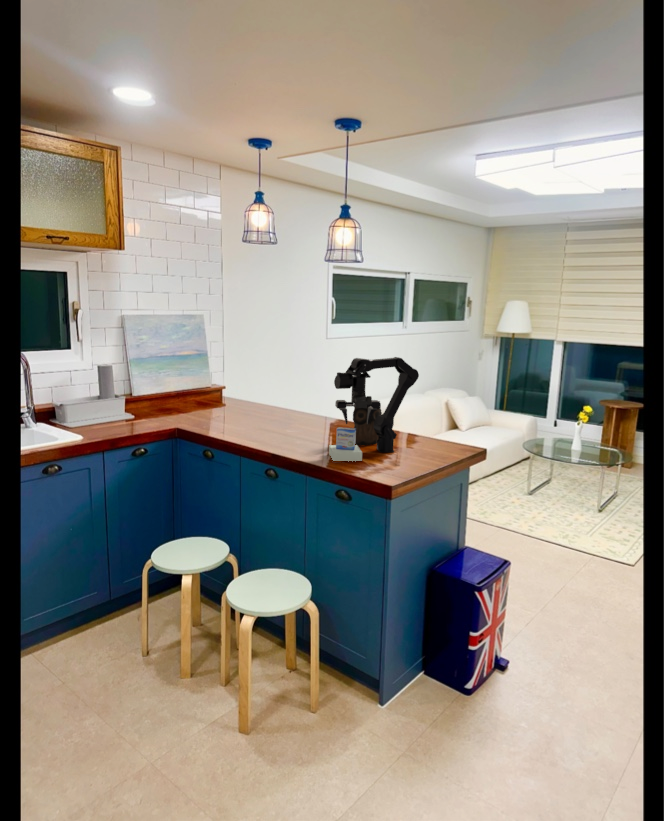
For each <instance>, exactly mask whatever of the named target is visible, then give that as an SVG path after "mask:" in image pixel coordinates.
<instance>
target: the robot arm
mask: <svg viewBox="0 0 664 821" xmlns="http://www.w3.org/2000/svg"><path fill="white" fill-rule="evenodd" d="M386 368H395V370H396V371H397V372H398V373H399V375H398V377H397V378H398V379H397V380H398V381H397V383H398V384H397V385H396V388H395V390H394V392H393V393H392V396H391V398H390V399H389V402H388V404H387V406H386V408H385V410H384V412H383V413H382V415H381V416H380V415H377V417H376V420H375V421H374V422H373V423H374V426H373V427H374V430H375V431H376V434H377V436H378V440H377V444H376V449H377V451H378V452H379V453H395V450H394V440H395V439H396V438H397V436H398V435H397V433H396V432H395V431H394V430H393V427H394V426H395V425H394V423H395V422H394V420H395V416H396V414H397V413H398V410H399V408H400V406H401V404H402V403H403V401H404V398H405V397H406V395H407V392H408V391H409V389H410V388H411V387H413V386H414V385H415V383H416V382H417V380H418V379H419V376H420V374H419V371H418V370H417V369H416V368H414V367H412V366H411V365H409V364H408V363H407V362H406V361H405V360H404V359H403V358H402V357H397V356H394V357H389V358H388V357H387V358H377V359H376V358H375V359H369V358H368V359H367V358H359V357H355V358H353V359H352V360H351V362H350V365H349V367H348V368H347V370H346V371H345V372H336V376H334V377H335V378H334V382H333V384H334V386H335V389H337V390H343V389H344V390H345V389H351V401H346V400H345V399H337V400H335V408H336V409H338V410H340V411H341V413H342V415H343V418H344V422H345V425H348V408H347V407H354V406H355V407H356V408H367V406H369V407H368V414H367V424H369V421H370V419H371V416H372V414H373V413H374V411H377V409H381V404H382V403H381V401H380V400H375V399H372V396H371V395H366V379H367V378H368V379H369V378H371V375H370V374H369V373H368V372H371V371H373V370H375V369H386ZM379 401H380V402H379Z"/></svg>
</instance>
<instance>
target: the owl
mask: <svg viewBox="0 0 664 821" xmlns="http://www.w3.org/2000/svg"><path fill="white" fill-rule="evenodd" d="M378 401H379V402H380V403H381V401H380V400H378ZM353 407H354V410H353V412H352V421H353V424H354V427H353V428H356V441H355V444H356V445H357V446H362V445H365V446H372V445H373V444H375V445H377V440H378V436H377V434H376V431H375V430H374V427H373V426H374V423H373V422H374V421H375V420H376V417H377V415H380V416H381V415H382V414H383V413H382V409H381V408H380V409H377V411H374V413H373V414H372V416H371V419H370V421H369V424H367V414H368V407H369V406H367V408H356V407H355V406H353ZM371 444H372V445H371Z"/></svg>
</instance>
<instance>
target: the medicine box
mask: <svg viewBox="0 0 664 821" xmlns="http://www.w3.org/2000/svg"><path fill="white" fill-rule="evenodd" d="M335 440H336V442H335V445H336V449H342V450H354V449H355V441H356V428H354V427H341V426H340V427H338V426H337V427H336V439H335Z"/></svg>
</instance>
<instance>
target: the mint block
mask: <svg viewBox="0 0 664 821" xmlns="http://www.w3.org/2000/svg"><path fill="white" fill-rule="evenodd" d="M328 454H329V455H328V456H331V457H330V459H331V458H332V459H331V460H333V461H348V462H349V461H352V463H353V461H355V463H356V461H363V451H362V450H361V448H360V447H359V445H355V449H354V450H342V449H336V444H333V445H332V444H329V445H328ZM333 461H332V462H333ZM348 462H347V463H348ZM349 463H350V462H349Z"/></svg>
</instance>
